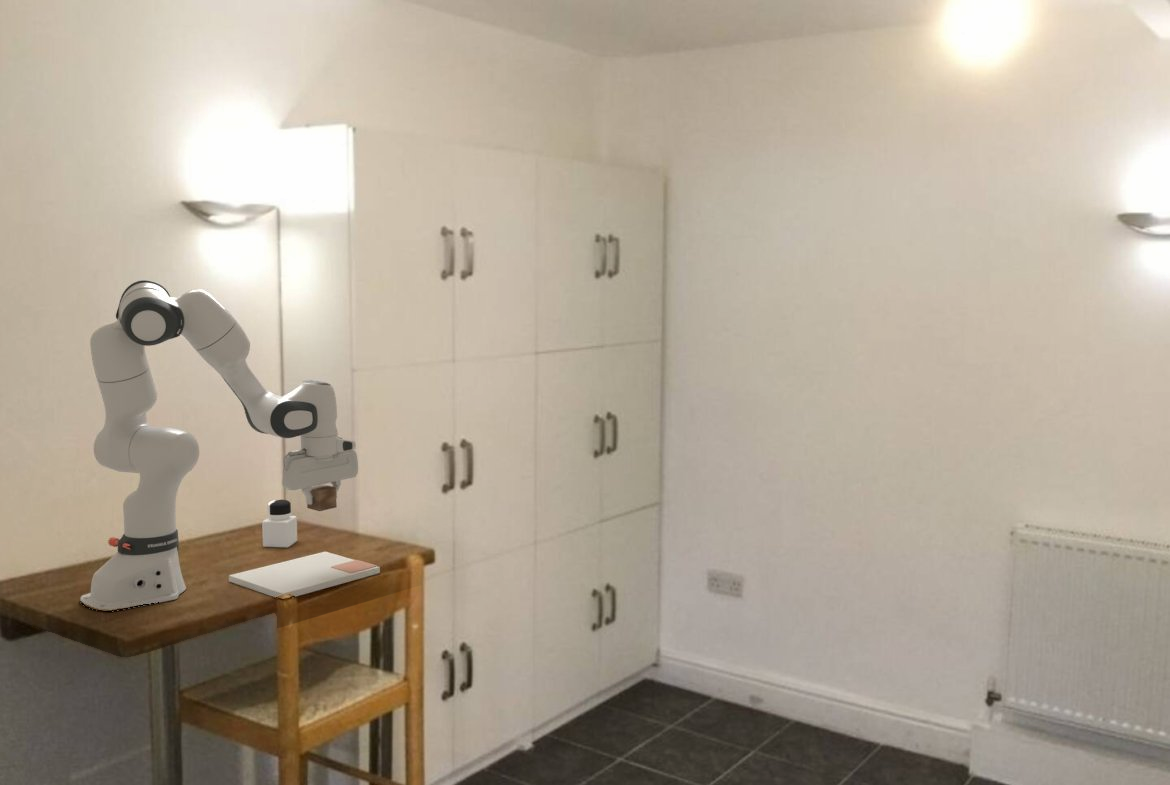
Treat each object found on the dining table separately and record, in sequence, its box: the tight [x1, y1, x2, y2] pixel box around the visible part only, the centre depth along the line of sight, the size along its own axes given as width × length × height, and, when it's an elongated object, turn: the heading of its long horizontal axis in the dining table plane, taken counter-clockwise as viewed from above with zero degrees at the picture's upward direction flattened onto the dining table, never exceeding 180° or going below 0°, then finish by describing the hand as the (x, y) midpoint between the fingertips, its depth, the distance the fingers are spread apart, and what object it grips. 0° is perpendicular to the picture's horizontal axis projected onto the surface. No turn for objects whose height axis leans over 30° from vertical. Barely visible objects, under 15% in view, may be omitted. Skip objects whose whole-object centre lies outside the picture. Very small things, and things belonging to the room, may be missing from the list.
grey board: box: [228, 551, 381, 599], centre depth 260 cm, size 28×22×2 cm
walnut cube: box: [306, 484, 338, 512], centre depth 262 cm, size 5×5×5 cm
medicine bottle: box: [261, 499, 298, 549], centre depth 290 cm, size 7×7×12 cm
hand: (322, 501), depth 263 cm, fingers closed on walnut cube, 5 cm apart
